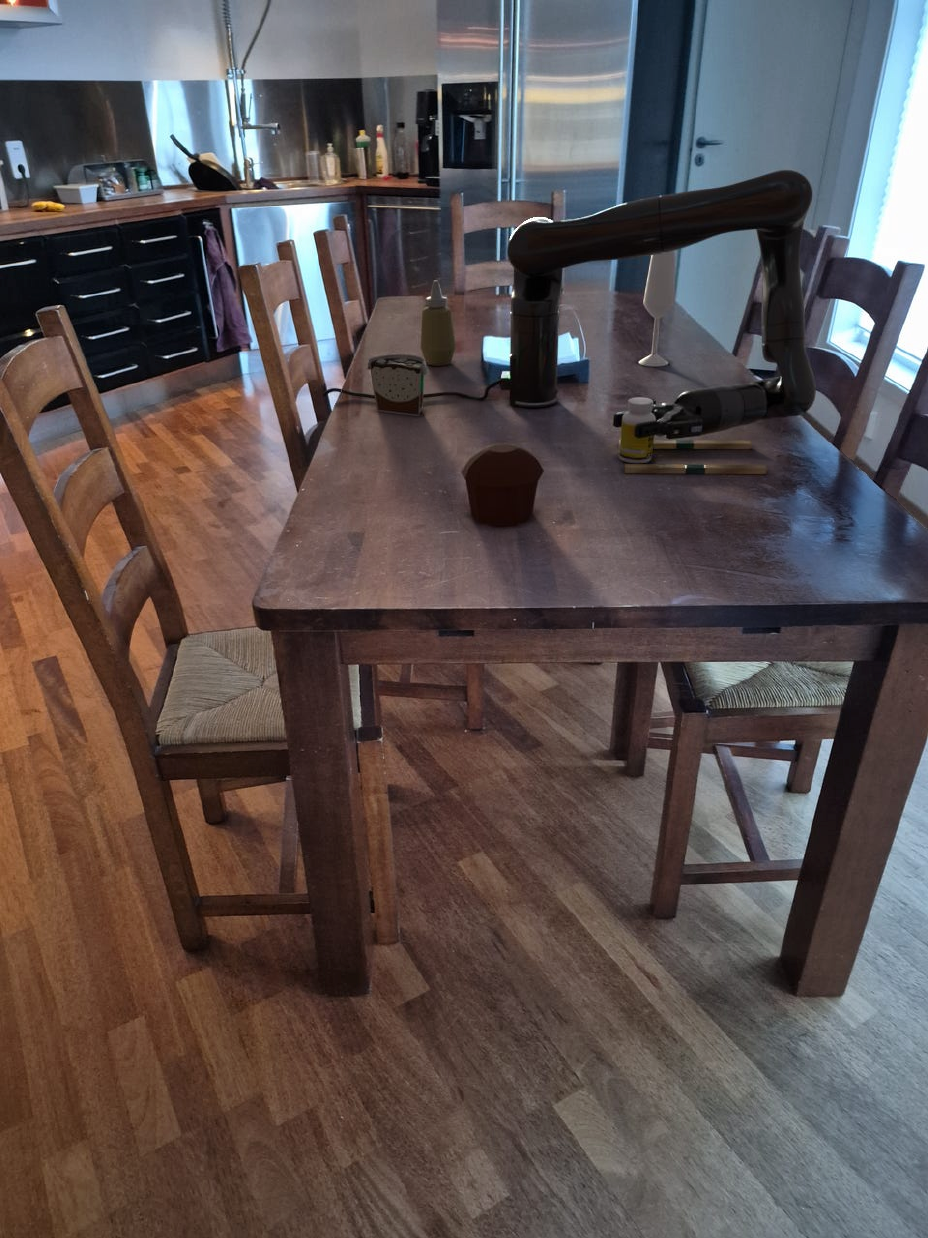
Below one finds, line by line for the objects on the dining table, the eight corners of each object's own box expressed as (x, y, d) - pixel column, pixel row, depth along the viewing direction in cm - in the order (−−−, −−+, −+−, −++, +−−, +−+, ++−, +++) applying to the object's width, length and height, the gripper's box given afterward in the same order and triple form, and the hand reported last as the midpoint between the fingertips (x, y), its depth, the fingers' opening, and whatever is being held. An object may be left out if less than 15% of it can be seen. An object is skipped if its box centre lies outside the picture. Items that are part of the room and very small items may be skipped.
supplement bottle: (651, 465, 141) (657, 406, 136) (617, 463, 142) (622, 404, 137) (652, 453, 145) (657, 396, 140) (619, 452, 146) (624, 395, 141)
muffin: (481, 536, 119) (480, 467, 114) (450, 507, 128) (448, 442, 123) (556, 520, 123) (559, 453, 118) (521, 493, 132) (522, 430, 127)
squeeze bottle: (461, 359, 202) (459, 278, 192) (449, 368, 195) (446, 284, 186) (428, 357, 204) (425, 276, 195) (416, 366, 197) (411, 283, 188)
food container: (440, 408, 170) (438, 356, 165) (426, 417, 165) (423, 364, 160) (385, 401, 175) (382, 351, 169) (370, 410, 170) (366, 358, 165)
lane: (625, 473, 138) (625, 467, 138) (618, 445, 149) (619, 440, 149) (765, 474, 136) (766, 468, 136) (748, 446, 148) (749, 440, 147)
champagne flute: (656, 367, 192) (666, 251, 179) (632, 362, 196) (641, 248, 184) (674, 362, 195) (686, 247, 183) (650, 357, 200) (660, 245, 188)
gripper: (684, 378, 149) (601, 391, 143) (741, 399, 138) (653, 415, 132) (680, 420, 153) (599, 435, 147) (734, 444, 142) (649, 462, 136)
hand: (625, 426), depth 140 cm, fingers closed on supplement bottle, 5 cm apart
